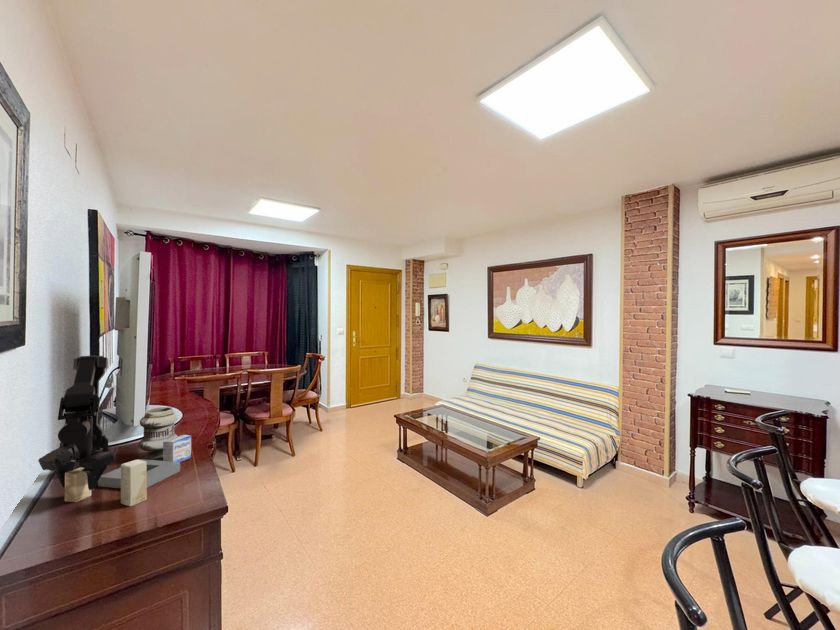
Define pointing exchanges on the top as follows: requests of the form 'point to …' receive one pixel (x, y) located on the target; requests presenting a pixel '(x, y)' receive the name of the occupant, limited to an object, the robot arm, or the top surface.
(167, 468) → the pocket plate
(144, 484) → the box
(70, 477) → the maple block
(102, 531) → the top surface
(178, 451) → the medicine box
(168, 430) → the apothecary jar
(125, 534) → the top surface
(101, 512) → the top surface
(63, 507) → the top surface
